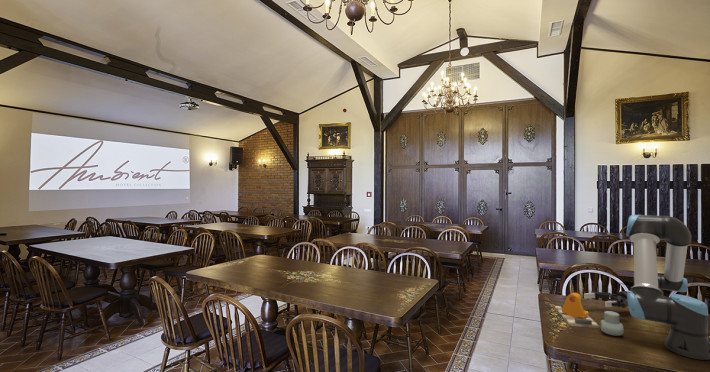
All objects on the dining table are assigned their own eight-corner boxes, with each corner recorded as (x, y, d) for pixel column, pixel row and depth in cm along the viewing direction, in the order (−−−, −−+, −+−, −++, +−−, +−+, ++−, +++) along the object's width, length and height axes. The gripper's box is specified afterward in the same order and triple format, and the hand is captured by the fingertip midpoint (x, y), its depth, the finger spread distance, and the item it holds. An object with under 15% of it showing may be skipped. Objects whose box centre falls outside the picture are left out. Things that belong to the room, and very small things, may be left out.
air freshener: (600, 327, 173) (600, 307, 173) (620, 331, 169) (620, 311, 169) (602, 335, 164) (602, 314, 164) (624, 339, 160) (624, 318, 160)
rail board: (599, 328, 172) (599, 322, 172) (569, 325, 176) (569, 319, 176) (580, 310, 197) (580, 304, 197) (554, 307, 201) (554, 302, 201)
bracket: (589, 316, 184) (589, 294, 184) (583, 319, 180) (583, 297, 180) (567, 310, 193) (567, 289, 193) (561, 313, 189) (561, 291, 189)
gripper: (650, 312, 180) (615, 315, 176) (607, 297, 204) (576, 299, 201) (650, 298, 180) (615, 300, 176) (607, 284, 204) (576, 286, 201)
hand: (594, 300), depth 188 cm, fingers open, 13 cm apart
